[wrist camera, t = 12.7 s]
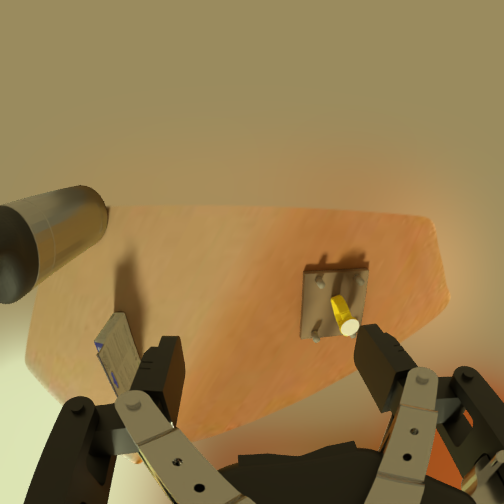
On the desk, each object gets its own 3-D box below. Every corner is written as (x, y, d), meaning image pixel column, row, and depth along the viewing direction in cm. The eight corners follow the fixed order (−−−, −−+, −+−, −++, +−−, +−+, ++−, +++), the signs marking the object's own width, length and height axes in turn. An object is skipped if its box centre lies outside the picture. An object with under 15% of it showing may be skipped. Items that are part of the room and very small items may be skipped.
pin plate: (299, 335, 45) (303, 346, 42) (303, 271, 42) (308, 279, 39) (357, 329, 46) (363, 339, 43) (366, 268, 42) (374, 275, 39)
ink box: (112, 311, 42) (83, 352, 31) (124, 310, 42) (97, 353, 31) (131, 367, 46) (113, 413, 35) (143, 367, 46) (126, 414, 35)
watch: (323, 293, 42) (336, 313, 36) (340, 286, 42) (355, 305, 36) (332, 325, 44) (344, 346, 38) (348, 318, 44) (362, 339, 38)
